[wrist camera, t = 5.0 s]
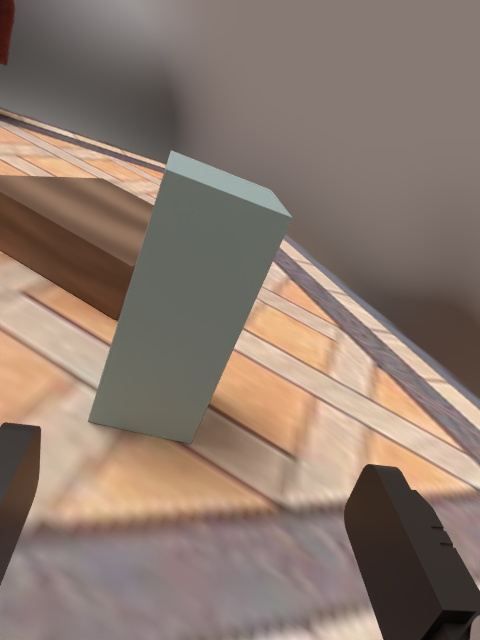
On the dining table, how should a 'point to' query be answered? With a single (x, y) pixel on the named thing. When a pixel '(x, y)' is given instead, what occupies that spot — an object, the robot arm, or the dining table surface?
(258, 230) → the block
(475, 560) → the dining table surface
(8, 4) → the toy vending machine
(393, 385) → the dining table surface
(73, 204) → the plinth
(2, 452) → the robot arm
